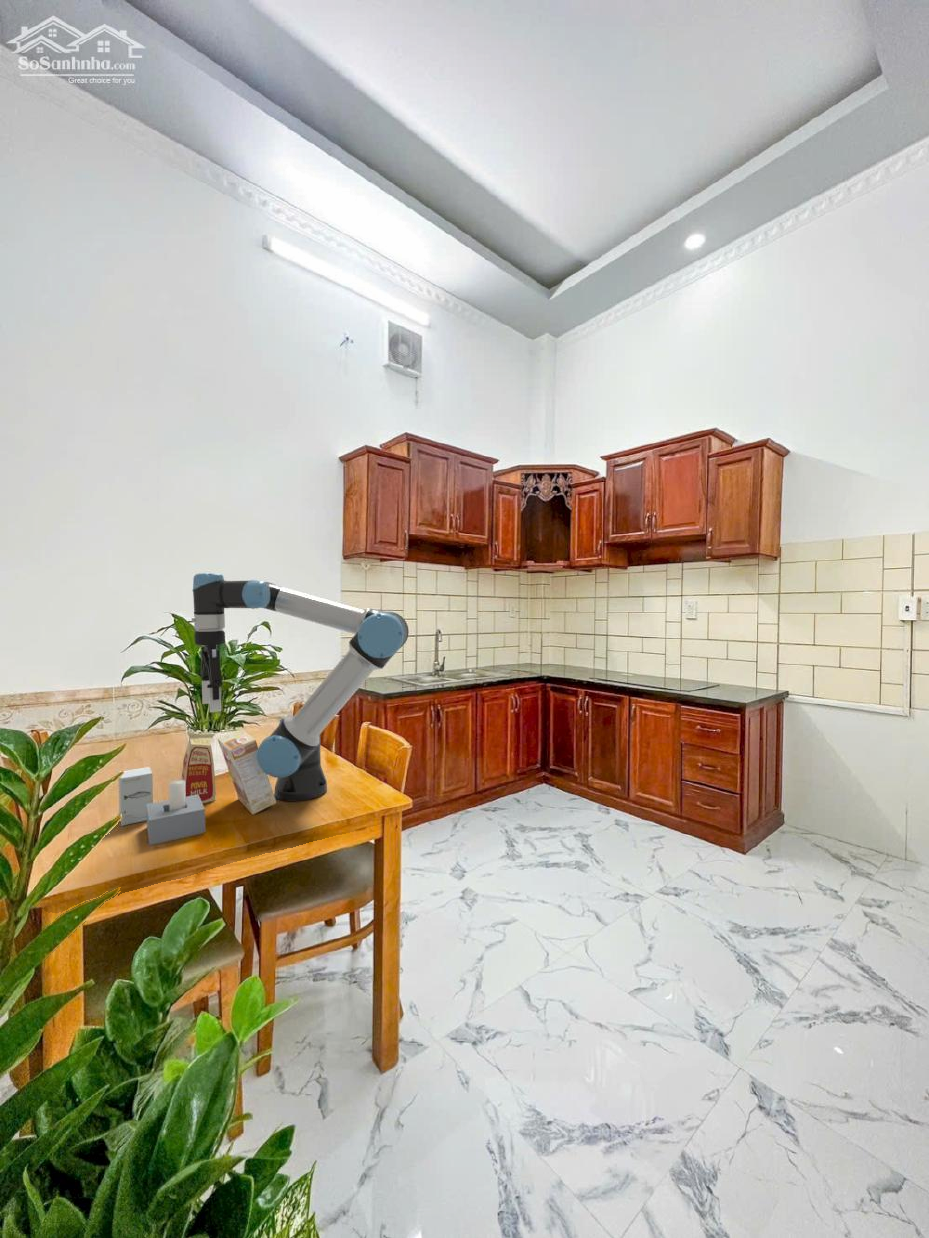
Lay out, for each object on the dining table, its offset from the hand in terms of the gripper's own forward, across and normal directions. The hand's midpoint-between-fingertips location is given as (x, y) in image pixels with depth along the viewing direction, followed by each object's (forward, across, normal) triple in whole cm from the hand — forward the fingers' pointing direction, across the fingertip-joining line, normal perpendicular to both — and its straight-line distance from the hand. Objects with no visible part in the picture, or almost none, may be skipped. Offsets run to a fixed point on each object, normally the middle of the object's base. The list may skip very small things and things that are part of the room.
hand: (211, 707), depth 143 cm
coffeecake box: (+28, +2, +11) cm, 30 cm away
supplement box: (+29, -6, -18) cm, 35 cm away
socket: (+29, +8, -10) cm, 31 cm away
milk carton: (+29, -12, -2) cm, 31 cm away
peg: (+29, +8, -10) cm, 31 cm away
